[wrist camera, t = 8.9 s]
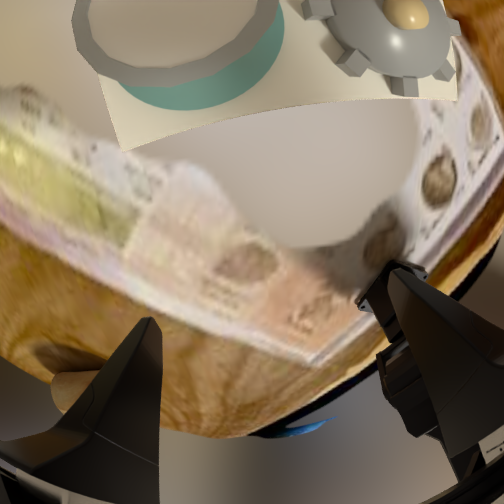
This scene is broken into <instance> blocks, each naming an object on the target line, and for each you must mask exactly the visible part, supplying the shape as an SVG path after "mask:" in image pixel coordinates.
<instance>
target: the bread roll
mask: <svg viewBox="0 0 504 504" xmlns="http://www.w3.org/2000/svg"><path fill="white" fill-rule="evenodd" d="M99 371H100V370H97V371H82V372H61V373H58V374H57V375H55V376H54V378H53V379H52V382H51V393H52V397H53V400H54V402H55V404H56V407H57V408H58V409H59V410H60V411H61V412H62V413H63V414H65V413H66V412H67V410H68V409H69V408H70V407H71V406H72V405H73V404H74V402H75V401H76V400H77V399H78V398H79V397H80V395H81V394H82V393H83V391H84V390H85V389H86V388H87V386H88V385H89V384H90V382H92V380H93V378H94V377H95V376H96V375H97V373H98V372H99Z"/></svg>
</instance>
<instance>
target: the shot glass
mask: <svg viewBox="0 0 504 504" xmlns="http://www.w3.org/2000/svg"><path fill="white" fill-rule="evenodd" d="M278 3H279V0H77V1H76V4H75V8H74V12H73V16H72V20H71V21H72V27H73V32H74V36H75V41H76V46H77V50H78V51H79V53H80V54H81V55H82V56H83V57H84V58H85V59H86V61H87V62H88V63H89V64H90V65H91V66H92V68H93V69H94V70H95V71H96V72H97V73H98V74H101V75H103V76H106V77H108V78H111V79H113V80H116V81H118V82H120V83H123V84H125V85H127V86H130V87H173V86H176V85H180V84H183V83H186V82H190V81H193V80H197V79H200V78H204V77H208V76H212V75H214V74H216V73H217V72H218V71H220V70H222V69H223V68H225V67H226V66H228V65H229V64H231V63H232V62H234V61H236V60H237V59H239V58H240V57H242V56H244V55H245V54H247V53H249V52H250V51H251V50H252V48H253V47H254V46H255V45H256V43H257V42H258V41H259V39H260V38H261V37H262V36H263V34H264V33H265V32H266V31H267V29H268V28H269V27H270V26H271V25H272V23H273V22H274V20H275V16H276V12H277V7H278Z"/></svg>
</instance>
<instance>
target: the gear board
mask: <svg viewBox="0 0 504 504" xmlns="http://www.w3.org/2000/svg"><path fill="white" fill-rule="evenodd" d="M451 36H461V31H460V26H459V21H456V20H453V19H450V18H447V16H446V12H445V8H444V4H443V0H279V3H278V7H277V12H276V16H275V20H274V22H273V23H272V25H271V26H270V27H269V28H268V29H267V31H266V32H265V33H264V34H263V36H262V37H261V38H260V39H259V41H258V42H257V43H256V45H255V46H254V47H253V48H252V50H251V51H250V52H249V53H247V54H245V55H244V56H242V57H240V58H239V59H237V60H236V61H234V62H232V63H231V64H229V65H228V66H226V67H225V68H223V69H222V70H220V71H218V72H217V73H216V74H214V75H212V76H208V77H204V78H200V79H197V80H193V81H190V82H186V83H183V84H180V85H176V86H173V87H130V86H127V85H125V84H123V83H120V82H118V81H116V80H113V79H111V78H108V77H106V76H103V75H101V74H98V73H97V74H98V77H99V81H100V85H101V88H102V92H103V95H104V98H105V102H106V105H107V108H108V111H109V115H110V117H111V121H112V124H113V127H114V130H115V133H116V136H117V139H118V141H119V144H120V147H121V150H122V152H125V151H127V150H130V149H133V148H135V147H138V146H141V145H143V144H146V143H149V142H151V141H155V140H158V139H161V138H164V137H167V136H169V135H173V134H176V133H179V132H183V131H186V130H189V129H192V128H196V127H200V126H204V125H207V124H211V123H215V122H219V121H223V120H227V119H231V118H235V117H240V116H245V115H249V114H254V113H259V112H264V111H270V110H276V109H281V108H287V107H294V106H301V105H308V104H316V103H325V102H335V101H346V100H360V99H361V100H362V99H387V98H388V99H391V98H409V99H436V100H451V101H457V83H456V71H455V62H454V55H453V48H452V41H451Z"/></svg>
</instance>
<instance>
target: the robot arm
mask: <svg viewBox="0 0 504 504" xmlns="http://www.w3.org/2000/svg"><path fill="white" fill-rule="evenodd" d="M392 265H393V266H392ZM427 278H428V273H427V272H426V271H423V270H420V269H418V268H415V267H413V266H410V265H407V264H404V263H402V262H399V261H396V260H391V261H390V262H389V263H388V264H387V266H386V267H385V269H384V270H383V271H382V273H381V274H380V276H379V277H378V278H377V280H376V281H375V282H374V284H373V285H372V286H371V288H370V289H369V290H368V292H367V293H366V294H365V296H364V297H363V298H362V299H361V301H360V302H359V303H358V305H357V307H358V309H359V310H360V311H366V312H372V313H374V315H375V317H376V319H377V321H378V323H379V325H380V327H382V329H383V331H384V333H385V335H386V337H387V339H388V341H389V343H392V344H391V345H389V346H388V347H387V348H386V349H384V350H383V351H382V352H381V351H380V352H379V353H377V354H376V359H377V365H378V370H379V375H380V380H381V385H382V391H383V394H384V396H385V398H386V400H388V401H389V403H390V404H391V405H392V406H393V407H394V408H395V409H397V410H398V412H399V413H400V415H401V417H402V419H403V422H404V424H405V426H406V429H407V431H408V432H409V433H410V434H411V435H413V436H414V437H416V438H418V437H420V436H422V435H423V434H425V435H427V436H429V437H432V438H434V439H436V440H438V441H440V443H441V445H442V447H443V449H444V451H445V453H446V455H447V458H448V460H449V462H450V464H451V466H452V469H453V471H454V473H455V476H456V478H457V480H458V483H457V484H456V485H454V486H452V487H450V488H449V489H447V490H445V491H443V492H442V493H440V494H438V495H436V496H434V497H432V498H430V499H428V500H426V501H424V502H422V503H420V504H504V330H503V329H501V328H500V327H498V326H496V325H494V324H492V323H491V322H489V321H487V320H486V319H484V318H482V317H481V316H479V315H478V314H476V313H474V312H473V311H471V310H469V309H468V308H467V307H465V306H463V305H462V304H460V303H459V302H457V301H455V300H454V299H452V298H451V297H449V296H447V295H446V294H444V293H442V292H441V291H439V290H437V289H436V288H434V287H432V286H431V285H429V284H427V283H426V282H425V281H426V279H427ZM162 376H163V352H162V331H161V329H160V328H159V326H158V324H157V323H156V321H155V319H154V318H153V317H151V316H150V317H143V318H141V319H140V321H139V322H138V323H137V324H136V325H135V327H134V328H133V329H132V330H131V332H130V333H129V334H128V335H127V337H126V338H125V339H124V340H123V341H122V343H121V344H120V345H119V346H118V348H117V349H116V350H115V352H114V353H113V354H112V355H111V357H110V358H109V359H108V360H107V362H106V363H105V364H104V366H103V367H102V368H101V369H100V371H99V372H98V373H97V375H96V376H95V377H94V378H93V380H92V382H90V384H89V385H88V386H87V388H86V389H85V390H84V391H83V393H82V394H81V395H80V397H79V398H78V399H77V400H76V401H75V402H74V404H73V405H72V406H71V407H70V408H69V409H68V410H67V412H66V413H65V414H64V415H63V416H62V417H61V418H60V420H59V421H58V422H57V423H56V424H55V425H54V426H53V427H52V428H51V429H49V430H47V431H45V432H42V433H39V434H35V435H31V436H28V437H23V438H19V439H15V440H11V441H0V458H1V459H3V460H4V461H6V462H8V463H9V464H11V465H13V466H14V467H16V468H17V472H16V474H14V473H12V472H10V471H8V470H6V469H5V468H3V467H1V466H0V504H160V500H159V466H158V465H159V426H160V405H161V389H162Z"/></svg>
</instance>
